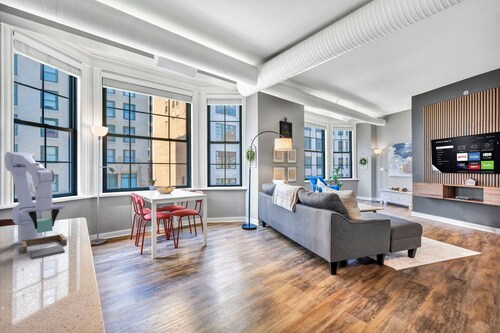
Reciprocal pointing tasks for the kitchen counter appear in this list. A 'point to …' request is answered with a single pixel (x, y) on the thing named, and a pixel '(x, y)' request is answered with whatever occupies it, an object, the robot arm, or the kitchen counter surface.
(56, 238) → the brown u-shaped bracket
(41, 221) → the teal block
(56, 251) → the charcoal mat
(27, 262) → the kitchen counter surface
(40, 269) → the kitchen counter surface
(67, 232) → the kitchen counter surface
